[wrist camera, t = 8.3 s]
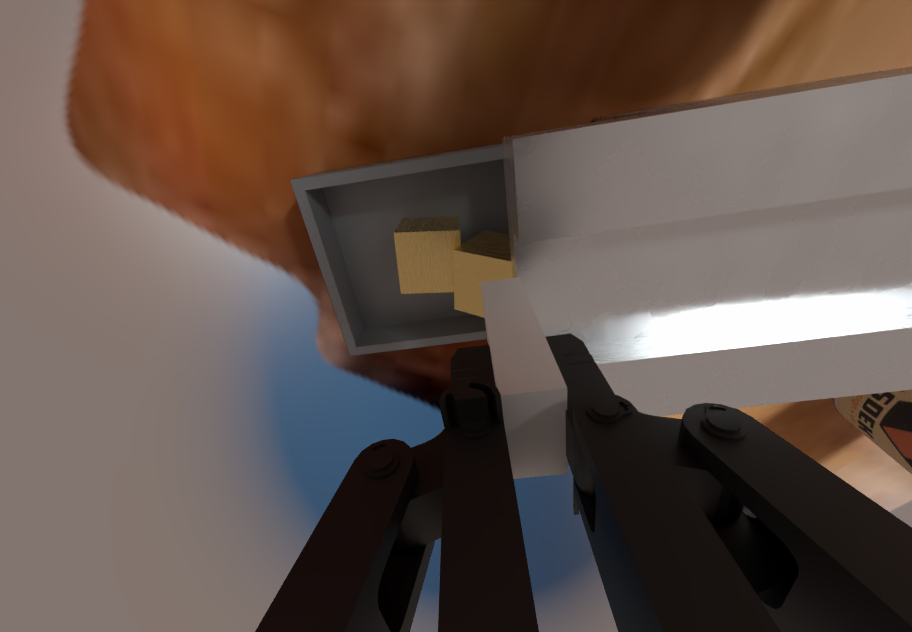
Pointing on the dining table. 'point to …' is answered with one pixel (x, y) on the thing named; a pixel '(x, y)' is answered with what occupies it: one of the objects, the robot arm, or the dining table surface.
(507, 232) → the tray
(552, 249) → the rail block
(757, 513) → the robot arm
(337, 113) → the dining table surface
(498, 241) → the tan cube
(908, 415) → the coffee cup
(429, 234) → the chip
